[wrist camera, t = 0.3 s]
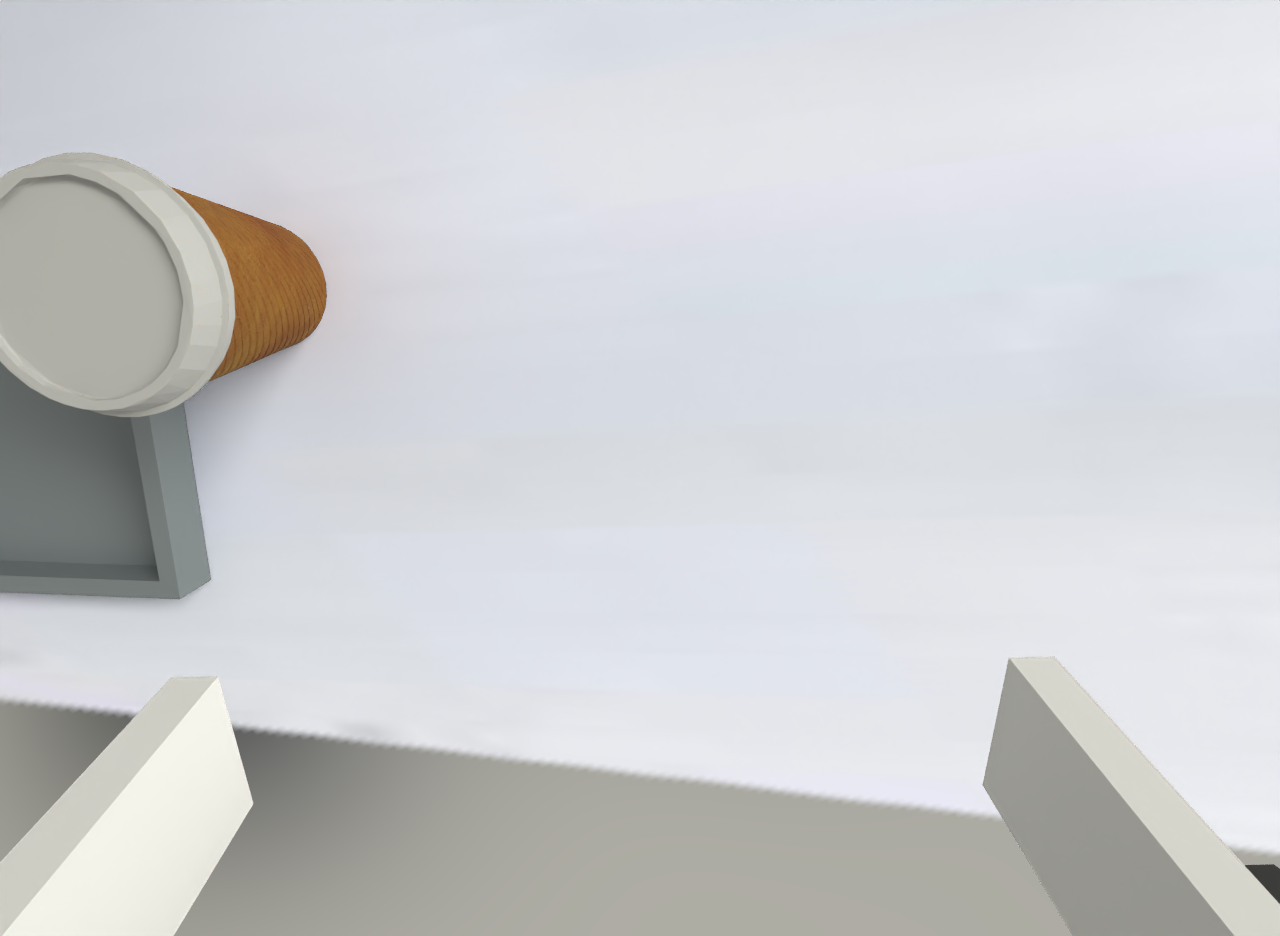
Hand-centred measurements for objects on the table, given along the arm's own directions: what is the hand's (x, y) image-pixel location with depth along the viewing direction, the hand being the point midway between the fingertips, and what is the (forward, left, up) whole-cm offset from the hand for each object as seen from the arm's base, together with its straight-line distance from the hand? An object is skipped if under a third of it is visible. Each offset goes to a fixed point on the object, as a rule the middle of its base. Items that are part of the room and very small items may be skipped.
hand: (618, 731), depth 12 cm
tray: (+1, -35, -26) cm, 43 cm away
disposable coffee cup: (-7, -21, -26) cm, 34 cm away
